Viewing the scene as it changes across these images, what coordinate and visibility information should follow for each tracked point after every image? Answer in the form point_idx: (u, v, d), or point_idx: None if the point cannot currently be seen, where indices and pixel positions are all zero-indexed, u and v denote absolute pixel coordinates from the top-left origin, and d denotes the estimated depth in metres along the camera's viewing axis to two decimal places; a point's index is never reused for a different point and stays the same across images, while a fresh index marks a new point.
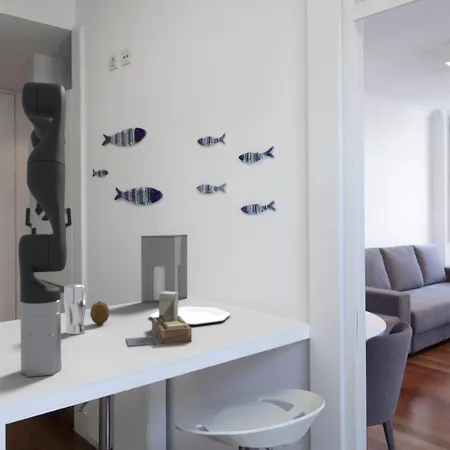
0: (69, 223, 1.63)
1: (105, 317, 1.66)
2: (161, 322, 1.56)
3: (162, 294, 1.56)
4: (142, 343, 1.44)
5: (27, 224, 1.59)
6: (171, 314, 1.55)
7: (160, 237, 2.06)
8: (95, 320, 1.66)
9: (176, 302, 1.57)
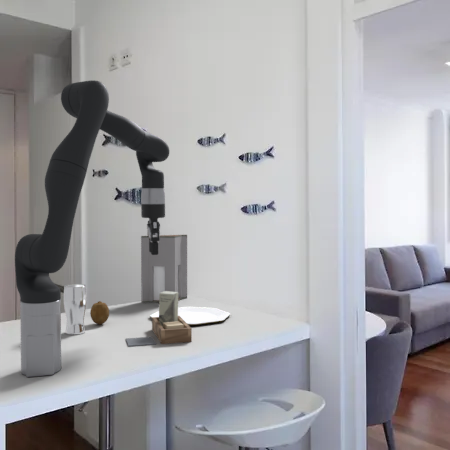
0: None
1: (105, 317, 1.66)
2: (161, 322, 1.56)
3: (162, 294, 1.56)
4: (142, 343, 1.44)
5: None
6: (171, 314, 1.55)
7: (160, 237, 2.06)
8: (95, 320, 1.66)
9: (176, 302, 1.57)
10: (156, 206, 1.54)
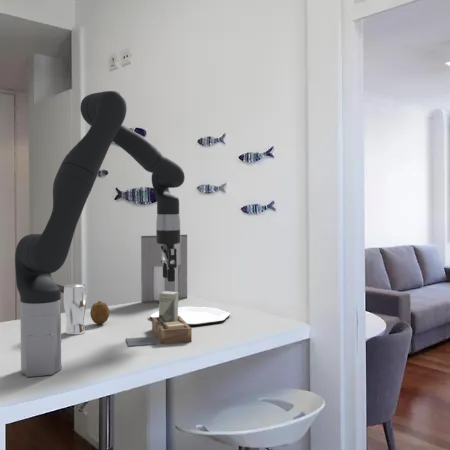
0: None
1: (105, 317, 1.66)
2: (161, 322, 1.56)
3: (162, 294, 1.56)
4: (142, 343, 1.44)
5: None
6: (171, 314, 1.55)
7: None
8: (95, 320, 1.66)
9: (176, 302, 1.57)
10: (172, 232, 1.54)
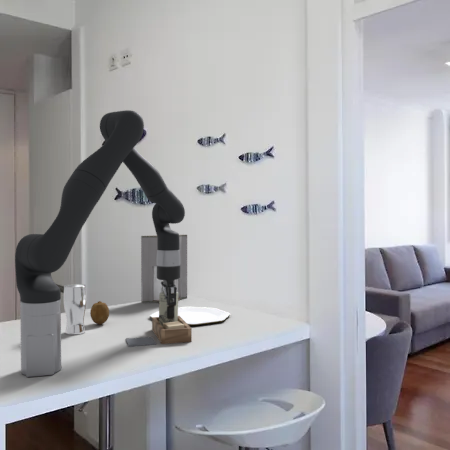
0: None
1: (105, 317, 1.66)
2: (161, 322, 1.56)
3: (162, 294, 1.56)
4: (142, 343, 1.44)
5: None
6: None
7: None
8: (95, 320, 1.66)
9: (176, 302, 1.57)
10: (173, 268, 1.54)
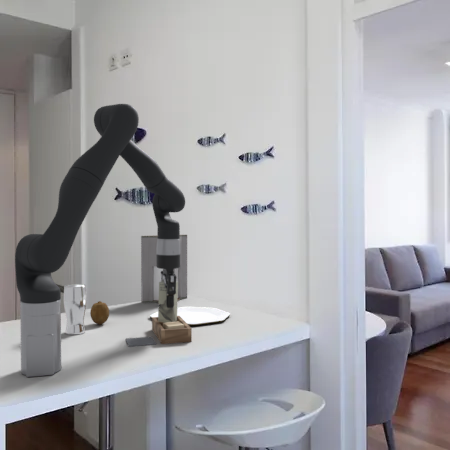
0: None
1: (105, 317, 1.66)
2: (161, 311, 1.56)
3: (162, 283, 1.56)
4: (142, 343, 1.44)
5: None
6: None
7: None
8: (95, 320, 1.66)
9: (176, 291, 1.57)
10: (172, 257, 1.54)
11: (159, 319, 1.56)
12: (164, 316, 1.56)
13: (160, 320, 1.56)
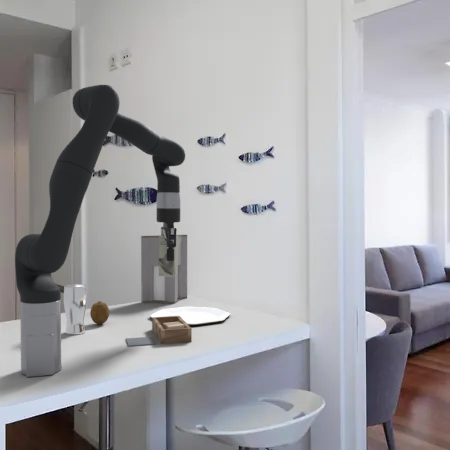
0: None
1: (105, 317, 1.66)
2: (161, 265, 1.56)
3: (162, 237, 1.55)
4: (142, 343, 1.44)
5: None
6: None
7: None
8: (95, 320, 1.66)
9: (176, 246, 1.57)
10: (173, 210, 1.53)
11: (159, 273, 1.56)
12: (164, 270, 1.55)
13: (160, 274, 1.56)
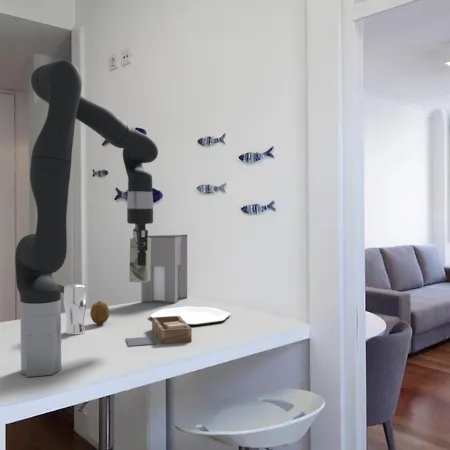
0: None
1: (105, 317, 1.66)
2: (132, 270, 1.44)
3: (133, 239, 1.44)
4: (142, 343, 1.44)
5: None
6: None
7: (160, 237, 2.06)
8: (95, 320, 1.66)
9: (149, 249, 1.45)
10: (144, 211, 1.42)
11: (130, 279, 1.44)
12: (135, 275, 1.44)
13: (131, 280, 1.44)
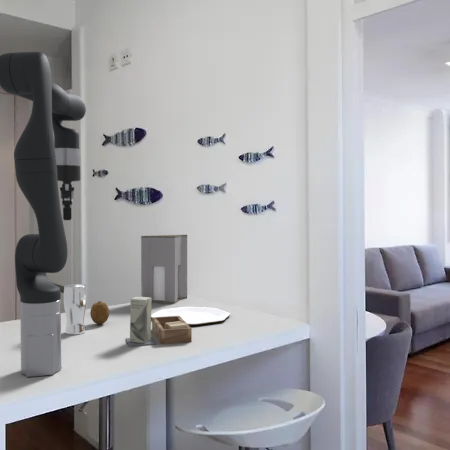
0: None
1: (105, 317, 1.66)
2: (132, 330, 1.44)
3: (133, 300, 1.44)
4: (142, 343, 1.44)
5: (71, 202, 1.40)
6: (143, 322, 1.43)
7: (160, 237, 2.06)
8: (95, 320, 1.66)
9: (149, 309, 1.46)
10: (69, 167, 1.42)
11: (131, 339, 1.45)
12: (136, 336, 1.44)
13: (132, 340, 1.45)
